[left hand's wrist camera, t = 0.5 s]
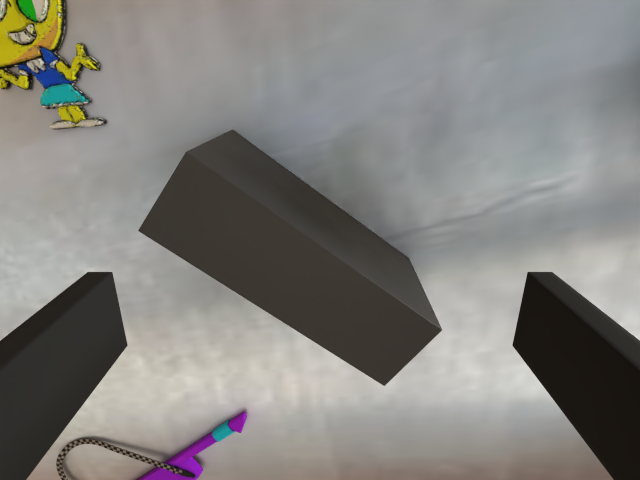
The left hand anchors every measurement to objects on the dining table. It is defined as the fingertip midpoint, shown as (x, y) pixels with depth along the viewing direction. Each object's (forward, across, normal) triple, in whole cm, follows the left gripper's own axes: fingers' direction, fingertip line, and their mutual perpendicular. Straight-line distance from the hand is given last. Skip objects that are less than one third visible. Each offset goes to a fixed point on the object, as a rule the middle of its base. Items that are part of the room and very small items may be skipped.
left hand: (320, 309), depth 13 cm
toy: (+25, -24, +11) cm, 36 cm away
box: (+25, -1, -5) cm, 25 cm away
